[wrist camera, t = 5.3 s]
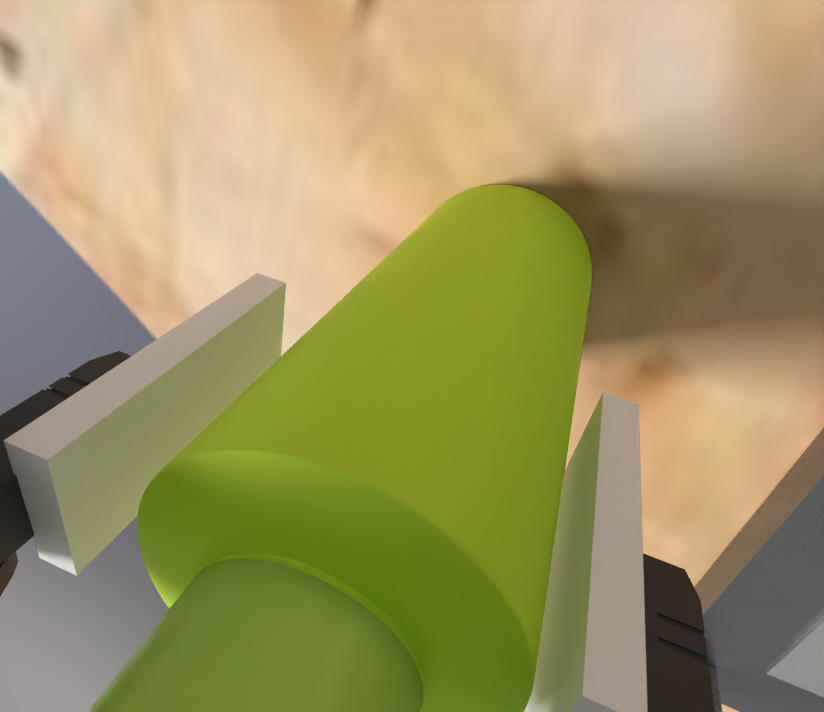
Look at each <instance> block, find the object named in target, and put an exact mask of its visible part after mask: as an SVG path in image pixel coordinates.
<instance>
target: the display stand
mask: <svg viewBox="0 0 824 712" xmlns="http://www.w3.org/2000/svg"><path fill="white" fill-rule="evenodd" d="M695 590H696V592H697V594H698V596H699V598H700V600H701V606H702V614H703V622H704V630H705V632H704V635H703V637H705V638H706V646H707V654H708V658H707V663H708V664H709V669H710V677H711V685H712V693H713V701H714V709H715V712H722V706H721V704H724V705H726V706H728V707H731V708H733V709H735V710H738V711H740V712H824V429H823V430H822V431H821V432H820V434H819V435H818V436H817V437H816V438H815V440H814V441H813V442H812V443H811V445H810V446H809V447H808V448H807V450H806V451H805V452H804V453H803V454H802V456H801V457H800V458H799V459H798V461H797V462H796V463H795V464H794V466H793V467H792V468H791V469H790V470H789V472H788V473H787V474H786V475H785V477H784V478H783V479H782V480H781V482H780V483H779V484H778V485H777V486H776V488H775V489H774V490H773V491H772V493H771V494H770V495H769V496H768V498H767V499H766V500H765V501H764V503H763V504H762V505H761V506H760V507H759V509H758V510H757V511H756V512H755V514H754V515H753V516H752V517H751V519H750V520H749V521H748V522H747V523H746V525H745V526H744V527H743V528H742V530H741V531H740V532H739V533H738V535H737V536H736V537H735V538H734V539H733V541H732V542H731V543H730V544H729V546H728V547H727V548H726V549H725V551H724V552H723V553H722V554H721V555H720V557H719V558H718V559H717V560H716V562H715V563H714V564H713V565H712V567H711V568H710V569H709V570H708V571H707V573H706V574H705V575H704V576H703V578H702V579H701V580H700V581H699V583H698V584H697V585H696V586H695Z"/></svg>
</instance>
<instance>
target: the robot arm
mask: <svg viewBox="0 0 824 712" xmlns="http://www.w3.org/2000/svg"><path fill="white" fill-rule="evenodd" d="M285 287H286V283H284V282H281V281H279V280H276V279H273V278H270V277H267V276H264V275H261V274H258V273H257V274H256V275H254V276H253V277H251V278H250V279H248V280H247V281H245V282H243V283H242V284H240V285H239V286H237V287H236V288H234V289H233V290H231V291H230V292H228V293H227V294H225V295H224V296H222V297H221V298H219V299H218V300H216V301H215V302H213V303H212V304H210V305H209V306H207V307H206V308H204V309H203V310H201V311H199V312H198V313H196V314H195V315H193V316H192V317H190V318H189V319H187V320H186V321H184V322H183V323H181V324H180V325H178V326H177V327H175V328H174V329H172V330H171V331H169V332H168V333H166V334H165V335H163V336H162V337H160V338H159V339H157V340H155V341H154V342H152V343H151V344H149V345H148V346H146V347H145V348H143V349H142V350H140V351H139V352H137V353H136V354H134V355H133V356H130V355H128V354H125V353H123V352H120V351H118V352H115V353H112V354H109V355H105V356H102V357H99V358H96V359H93V360H90V361H88V362H87V363H85V364H84V365H82V366H80V367H79V368H77V369H75V370H74V371H72V372H71V373H69V374H68V375H67V377H66V378H61V379H59V380H58V381H56V382H55V383H53V384H51V385H49V386H48V388H47V390H41V391H40V392H38V393H37V394H35V395H33V396H32V397H30V398H28V399H27V400H25V401H24V402H22V403H21V404H19V405H17V406H16V407H14V408H12V409H11V410H9V411H7V412H6V413H4V414H3V415H1V416H0V596H1V594H2V593H3V591H4V589H5V588H6V586H7V584H8V583H9V581H10V579H11V578H12V576H13V574H14V571H15V569H16V566H17V563H18V559H17V555H16V550H18V549H19V548H20V547H21V546H22V545H23V544H25V543H26V542H27V541H28V540H29V539H31V537H33V538H34V541H35V544H36V547H37V551H38V554H39V557H40V558H41V559H43V560H45V561H47V562H49V563H52V564H54V565H56V566H58V567H60V568H62V569H64V570H66V571H68V572H70V573H72V574H74V575H78V574H79V573H80V572H81V571H82V570H83V569H84V568H85V567H86V566H87V565H88V564H89V563H90V562H91V561H92V560H93V559H94V558H95V557H96V556H97V555H98V554H99V553H100V552H101V551H102V550H103V549H104V548H105V547H106V546H107V545H108V544H109V543H110V542H111V541H112V540H113V539H114V538H115V537H116V536H117V535H118V534H119V533H120V532H121V531H122V530H123V529H124V528H125V527H126V526H127V525H128V524H129V523H130V522H131V521H132V520H133V519H134V518H135V517H136V516H137V515H138V509H139V505H140V501H141V498H142V496H143V494H144V492H145V490H146V488H147V486H148V485H149V483H150V482H151V480H152V479H153V478H154V477H155V476H156V475H157V473H158V472H159V471H160V470H161V469H162V468H163V467H165V466H166V465H167V464H168V463H169V462H170V461H171V460H172V459H173V458H174V457H175V456H176V455H177V454H178V453H179V452H180V451H182V450H183V449H184V448H185V447H186V446H187V445H188V444H189V443H190V442H191V441H192V440H193V439H194V438H195V437H196V436H197V435H198V434H200V433H201V432H202V431H203V430H204V429H205V428H206V427H207V426H208V425H209V424H210V423H211V422H212V421H213V420H214V419H215V418H217V417H218V416H219V415H220V414H221V413H222V412H223V411H224V410H225V409H226V408H227V407H228V406H229V405H230V404H231V403H232V402H233V401H235V400H236V399H237V398H238V397H239V396H240V395H241V394H242V393H243V392H244V391H245V390H246V389H247V388H248V387H249V386H250V385H252V384H253V383H254V382H255V381H256V380H257V379H258V378H259V377H260V376H261V375H262V374H263V373H264V372H265V371H266V370H267V369H268V368H270V367H271V366H272V365H273V364H274V363H275V362H276V361H277V360H278V359H279V358H280V357H281V347H282V332H283V317H284V302H285ZM704 632H705V630H704V622H703V614H702V606H701V600H700V598H699V596H698V594H697V592H696V590H695V588H694V587H693V585H692V583H691V581H690V579H689V577H688V575H687V573H686V571H685V570H684V569H682V568H679V567H677V566H674V565H671V564H669V563H666V562H664V561H661V560H659V559H656V558H653V557H651V556H648V555H646V554H643V536H642V501H641V466H640V431H639V404H636V403H633V402H630V401H628V400H625V399H622V398H619V397H616V396H613V395H610V394H607V393H604V392H603V394H602V396H601V398H600V400H599V402H598V404H597V406H596V408H595V410H594V412H593V414H592V416H591V418H590V420H589V422H588V424H587V426H586V428H585V430H584V433H583V435H582V437H581V439H580V441H579V443H578V445H577V447H576V449H575V451H574V453H573V455H572V457H571V459H570V461H569V463H568V465H567V467H566V469H565V472H564V478H563V485H562V492H561V499H560V506H559V513H558V520H557V527H556V534H555V541H554V548H553V555H552V561H551V568H550V575H549V582H548V589H547V596H546V603H545V610H544V617H543V624H542V631H541V638H540V644H539V651H538V658H537V665H536V672H535V679H534V685H533V689H532V693H531V696H530V699H529V702H528V704H527V706H526V712H715V709H714V701H713V693H712V685H711V677H710V669H709V664H708V663H707V658H708V654H707V646H706V638H705V637H703V635H704Z"/></svg>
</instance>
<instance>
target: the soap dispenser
mask: <svg viewBox="0 0 824 712" xmlns="http://www.w3.org/2000/svg"><path fill="white" fill-rule="evenodd" d="M591 285H592V262H591V256H590V252H589V249H588V246H587V243H586V240H585V238H584V236H583V234H582V232H581V231H580V229H579V227H578V226H577V224H576V223H575V222H574V220H573V219H572V218H571V217H570V216H569V215H568V213H567V212H565V211H564V210H563V209H562V208H561V207H560V206H559V205H557V204H556V203H555V202H553V201H552V200H550V199H549V198H547V197H545V196H543V195H541V194H539V193H537V192H535V191H532V190H529V189H526V188H523V187H518V186H512V185H486V186H480V187H476V188H473V189H470V190H467V191H464V192H462V193H460V194H458V195H456V196H454V197H453V198H451V199H449V200H448V201H447V202H445V203H444V204H443V205H441V206H440V207H439V208H438V209H437V210H436V211H435V212H434V213H433V214H432V215H431V216H430V217H429V218H428V219H426V220H425V221H424V222H423V223H422V224H421V225H420V226H419V227H418V228H417V229H416V230H415V231H414V232H413V233H412V234H411V235H410V236H408V237H407V238H406V239H405V240H404V241H403V242H402V243H401V244H400V245H399V246H398V247H397V248H396V249H395V250H394V251H393V252H391V253H390V254H389V255H388V256H387V257H386V258H385V259H384V260H383V261H382V262H381V263H380V264H379V265H378V266H377V267H376V268H375V269H373V270H372V271H371V272H370V273H369V274H368V275H367V276H366V277H365V278H364V279H363V280H362V281H361V282H360V283H359V284H358V285H357V286H355V287H354V288H353V289H352V290H351V291H350V292H349V293H348V294H347V295H346V296H345V297H344V298H343V299H342V300H341V301H340V302H338V303H337V304H336V305H335V306H334V307H333V308H332V309H331V310H330V311H329V312H328V313H327V314H326V315H325V316H324V317H323V318H322V319H320V320H319V321H318V322H317V323H316V324H315V325H314V326H313V327H312V328H311V329H310V330H309V331H308V332H307V333H306V334H305V335H303V336H302V337H301V338H300V339H299V340H298V341H297V342H296V343H295V344H294V345H293V346H292V347H291V348H290V349H289V350H288V351H287V352H285V353H284V354H283V355H282V356H281V357H280V358H279V359H278V360H277V361H276V362H275V363H274V364H273V365H272V366H271V367H270V368H268V369H267V370H266V371H265V372H264V373H263V374H262V375H261V376H260V377H259V378H258V379H257V380H256V381H255V382H254V383H253V384H252V385H250V386H249V387H248V388H247V389H246V390H245V391H244V392H243V393H242V394H241V395H240V396H239V397H238V398H237V399H236V400H235V401H233V402H232V403H231V404H230V405H229V406H228V407H227V408H226V409H225V410H224V411H223V412H222V413H221V414H220V415H219V416H218V417H217V418H215V419H214V420H213V421H212V422H211V423H210V424H209V425H208V426H207V427H206V428H205V429H204V430H203V431H202V432H201V433H200V434H198V435H197V436H196V437H195V438H194V439H193V440H192V441H191V442H190V443H189V444H188V445H187V446H186V447H185V448H184V449H183V450H182V451H180V452H179V453H178V454H177V455H176V456H175V457H174V458H173V459H172V460H171V461H170V462H169V463H168V464H167V465H166V466H165V467H163V468H162V469H161V470H160V471H159V472H158V473H157V475H156V476H155V477H154V478H153V479H152V480H151V482H150V483H149V485H148V486H147V488H146V490H145V492H144V494H143V496H142V498H141V501H140V505H139V509H138V516H137V535H138V542H139V546H140V551H141V554H142V558H143V561H144V563H145V566H146V568H147V571H148V573H149V575H150V577H151V580H152V581H153V583H154V585H155V587H156V589H157V591H158V592H159V594H160V596H161V597H162V599H163V600H164V602H165V603H166V605H167V606H168V608H169V610H168V611H167V613H166V614H165V615H164V616H163V618H162V619H161V620H160V622H159V623H158V624H157V625H156V626H155V628H154V629H153V630H152V632H151V633H150V634H149V635H148V637H147V638H146V639H145V640H144V642H143V643H142V644H141V645H140V647H139V648H138V649H137V650H136V652H135V653H134V654H133V656H132V657H131V658H130V659H129V661H128V662H127V663H126V664H125V666H124V667H123V668H122V669H121V671H120V672H119V673H118V675H117V676H116V677H115V678H114V680H113V681H112V682H111V683H110V685H109V686H108V687H107V688H106V690H105V691H104V692H103V694H102V695H101V696H100V697H99V698H98V700H97V701H96V702H95V704H94V705H93V706H92V707H91V709H90V710H89V711H88V712H523V711H524V710H525V708H526V706H527V704H528V702H529V699H530V696H531V693H532V689H533V685H534V679H535V672H536V665H537V658H538V651H539V644H540V638H541V631H542V624H543V617H544V610H545V603H546V596H547V589H548V582H549V575H550V568H551V561H552V555H553V548H554V541H555V534H556V527H557V520H558V513H559V506H560V499H561V492H562V485H563V478H564V472H565V465H566V458H567V451H568V444H569V437H570V430H571V423H572V416H573V409H574V402H575V395H576V388H577V382H578V375H579V368H580V361H581V354H582V347H583V340H584V333H585V326H586V319H587V312H588V305H589V299H590V292H591Z"/></svg>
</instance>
